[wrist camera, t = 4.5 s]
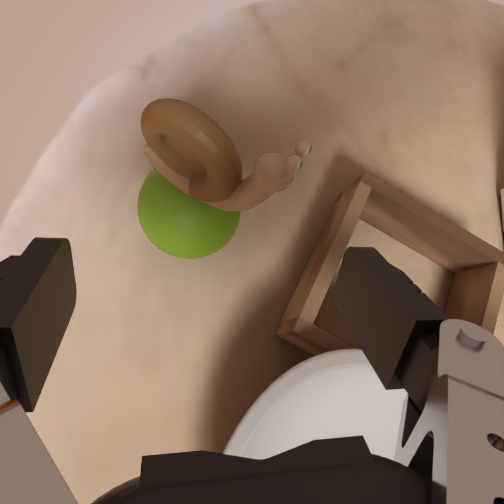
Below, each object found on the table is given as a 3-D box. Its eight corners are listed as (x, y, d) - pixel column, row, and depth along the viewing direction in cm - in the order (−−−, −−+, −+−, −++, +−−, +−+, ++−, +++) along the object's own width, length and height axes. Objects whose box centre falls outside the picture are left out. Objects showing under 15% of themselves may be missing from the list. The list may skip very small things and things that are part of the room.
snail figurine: (216, 294, 21) (266, 226, 10) (123, 237, 21) (63, 100, 10) (260, 222, 23) (345, 96, 12) (174, 169, 23) (176, -14, 11)
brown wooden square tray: (339, 195, 25) (364, 170, 21) (467, 269, 25) (511, 257, 22) (274, 334, 21) (293, 330, 18) (425, 417, 22) (470, 428, 18)
